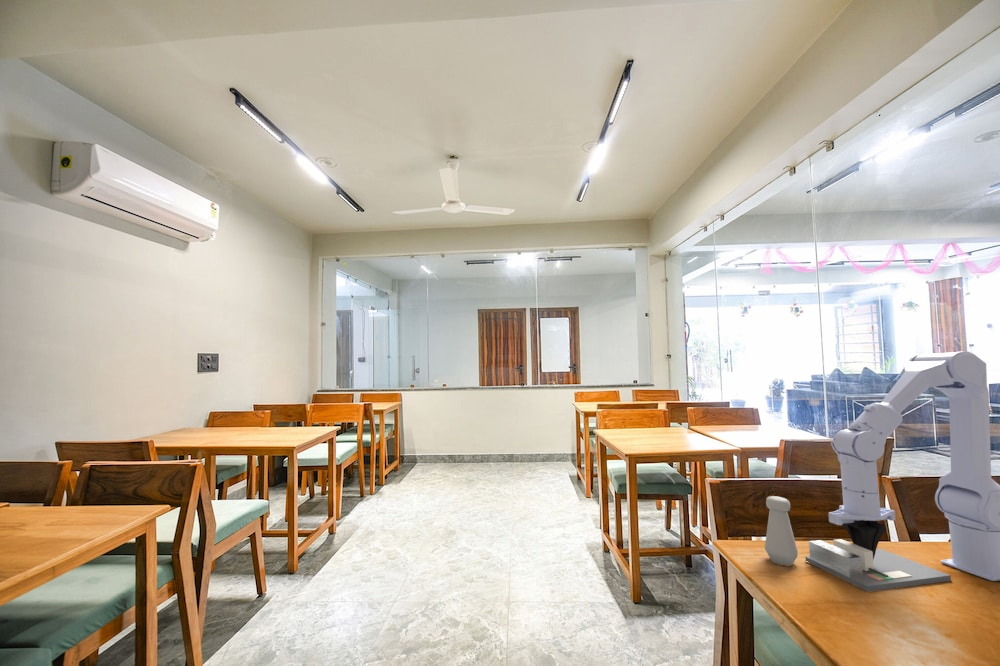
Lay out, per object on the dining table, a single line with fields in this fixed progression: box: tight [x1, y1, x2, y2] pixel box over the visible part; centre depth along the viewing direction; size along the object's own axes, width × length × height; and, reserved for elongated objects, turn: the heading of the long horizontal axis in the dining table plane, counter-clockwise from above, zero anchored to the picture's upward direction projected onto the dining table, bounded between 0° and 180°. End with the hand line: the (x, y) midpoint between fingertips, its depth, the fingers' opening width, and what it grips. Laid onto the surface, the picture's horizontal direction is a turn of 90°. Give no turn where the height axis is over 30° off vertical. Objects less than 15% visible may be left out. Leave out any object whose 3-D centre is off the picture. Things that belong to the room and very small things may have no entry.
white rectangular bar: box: [832, 538, 888, 577], centre depth 80 cm, size 2×9×4 cm, turn 12°
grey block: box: [808, 539, 863, 578], centre depth 81 cm, size 3×8×4 cm, turn 12°
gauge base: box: [805, 548, 952, 593], centre depth 81 cm, size 20×12×1 cm, turn 102°
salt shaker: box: [764, 495, 798, 567], centre depth 86 cm, size 6×6×13 cm
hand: (865, 558), depth 82 cm, fingers closed
